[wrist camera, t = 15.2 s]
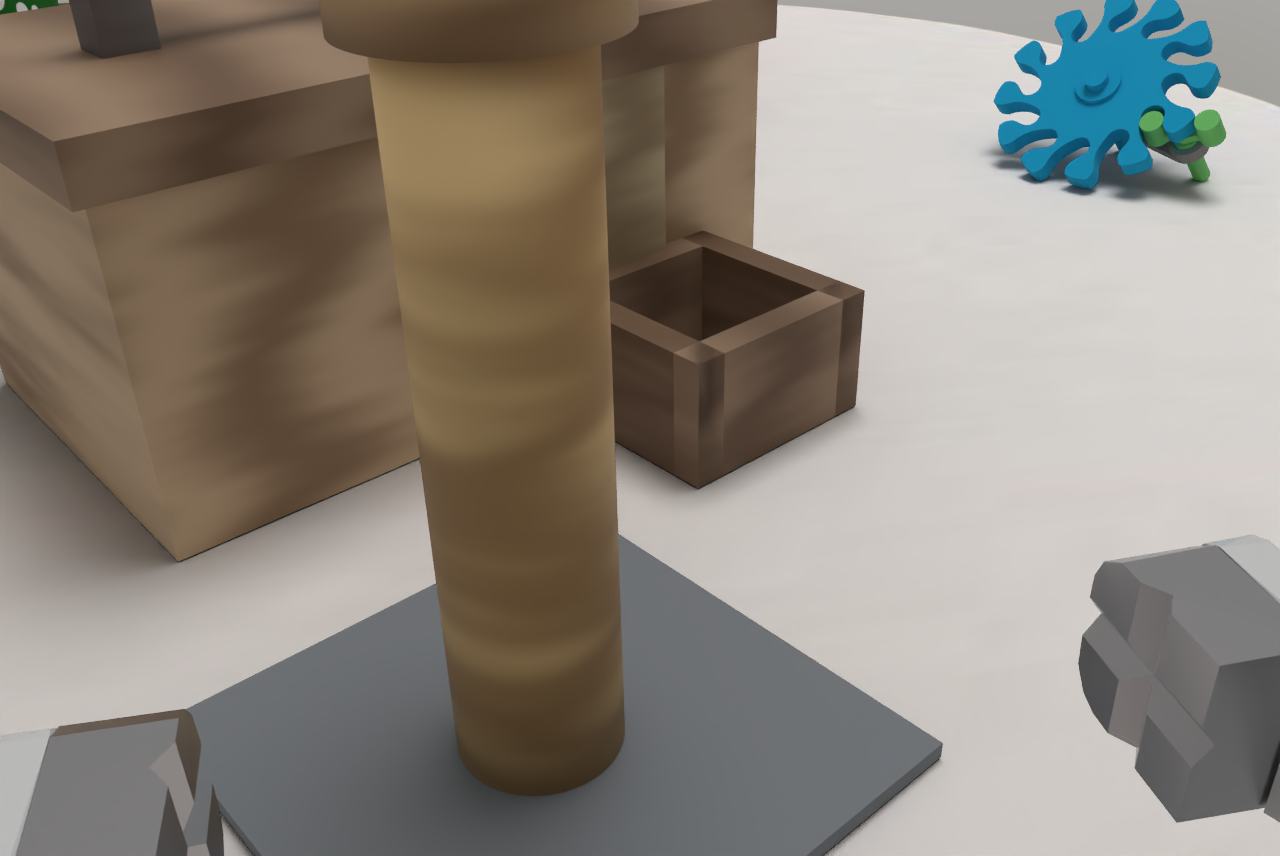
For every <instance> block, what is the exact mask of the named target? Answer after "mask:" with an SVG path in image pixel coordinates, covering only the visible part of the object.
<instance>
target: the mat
mask: <svg viewBox="0 0 1280 856" xmlns="http://www.w3.org/2000/svg"><path fill="white" fill-rule="evenodd" d="M618 546H619V574H620V602H621V630H622V659H623V687H624V715H625V736H624V742H623V745H622V747H621V750H620V752H619V754H618V755H617V757H616V759H615V760H614V761H613V763H612V764H611V765H610V766H609V767H608V768H607V769H606V770H605V771H604V772H603V773H602V774H600V775H599V776H598V777H596V778H595V779H593V780H591V781H590V782H588V783H586V784H584V785H582V786H580V787H578V788H575V789H572V790H569V791H566V792H563V793H558V794H554V795H546V796H522V795H515V794H509V793H506V792H502V791H499V790H496V789H494V788H492V787H490V786H488V785H486V784H484V783H483V782H481V781H479V780H478V779H477V778H476V777H475V776H473V775H472V774H471V773H470V771H469V770H468V769H467V768H466V766H465V765H464V763H463V762H462V759H461V757H460V755H459V751H458V746H457V738H456V730H455V723H454V715H453V707H452V700H451V692H450V685H449V677H448V669H447V662H446V654H445V646H444V639H443V631H442V624H441V616H440V608H439V601H438V593H437V585H436V584H434V585H432V586H430V587H428V588H426V589H424V590H422V591H420V592H418V593H416V594H414V595H412V596H410V597H408V598H406V599H404V600H402V601H400V602H398V603H396V604H394V605H392V606H390V607H388V608H386V609H384V610H382V611H380V612H378V613H376V614H374V615H372V616H370V617H368V618H366V619H364V620H362V621H360V622H358V623H356V624H354V625H352V626H350V627H348V628H346V629H344V630H343V631H341V632H339V633H337V634H335V635H333V636H331V637H329V638H327V639H325V640H323V641H321V642H319V643H317V644H315V645H313V646H311V647H309V648H307V649H305V650H303V651H301V652H299V653H297V654H295V655H293V656H291V657H289V658H287V659H285V660H283V661H281V662H279V663H277V664H275V665H273V666H271V667H269V668H267V669H265V670H263V671H261V672H259V673H257V674H255V675H253V676H251V677H249V678H247V679H245V680H243V681H241V682H239V683H237V684H235V685H233V686H231V687H229V688H227V689H225V690H223V691H221V692H219V693H217V694H215V695H214V696H212V697H210V698H208V699H206V700H204V701H202V702H200V703H198V704H196V705H194V706H192V707H190V708H188V709H186V710H187V711H188V712H189V713H191V714H192V716H193V719H194V722H195V726H196V729H197V732H198V735H199V738H200V741H201V744H202V745H201V753H200V761H199V769H198V774H199V775H200V776H202V777H203V778H205V779H206V780H208V781H209V782H211V783H212V784H213V786H214V790H215V794H216V798H217V801H218V805H219V810H220V812H221V813H222V814H223V816H224V817H225V818H226V819H227V821H228V822H229V823H230V825H231V826H232V827H233V829H234V830H235V831H236V832H237V834H238V835H239V836H240V838H241V839H242V840H243V841H244V843H245V844H246V845H247V847H248V848H249V849H250V850H251V852H252V853H253V854H254V856H822V855H824V854H825V853H826V852H827V851H828V850H830V849H831V848H832V847H833V846H834V845H836V844H837V843H838V842H839V841H840V840H842V839H843V838H844V837H845V836H846V835H848V834H849V833H850V832H851V831H852V830H854V829H855V828H856V827H857V826H858V825H860V824H861V823H862V822H863V821H864V820H866V819H867V818H868V817H869V816H870V815H872V814H873V813H874V812H875V811H876V810H878V809H879V808H880V807H881V806H882V805H884V804H885V803H886V802H887V801H888V800H890V799H891V798H892V797H893V796H894V795H896V794H897V793H898V792H899V791H900V790H902V789H903V788H904V787H905V786H906V785H908V784H909V783H910V782H911V781H912V780H914V779H915V778H916V777H917V776H918V775H920V774H921V773H922V772H923V771H925V770H926V769H927V768H928V767H929V766H931V765H932V764H933V763H934V762H935V761H937V760H938V759H939V758H940V757H941V752H942V745H943V743H942V742H940V741H939V740H937V739H935V738H934V737H932V736H931V735H929V734H928V733H926V732H925V731H923V730H921V729H920V728H918V727H917V726H915V725H914V724H912V723H911V722H909V721H908V720H906V719H904V718H903V717H901V716H900V715H898V714H897V713H895V712H894V711H892V710H890V709H889V708H887V707H886V706H884V705H883V704H881V703H880V702H878V701H877V700H875V699H873V698H872V697H870V696H869V695H867V694H866V693H864V692H863V691H861V690H859V689H858V688H856V687H855V686H853V685H852V684H850V683H849V682H847V681H846V680H844V679H842V678H841V677H839V676H838V675H836V674H835V673H833V672H832V671H830V670H828V669H827V668H825V667H824V666H822V665H821V664H819V663H818V662H816V661H815V660H813V659H811V658H810V657H808V656H807V655H805V654H804V653H802V652H801V651H799V650H797V649H796V648H794V647H793V646H791V645H790V644H788V643H787V642H785V641H784V640H782V639H780V638H779V637H777V636H776V635H774V634H773V633H771V632H770V631H768V630H766V629H765V628H763V627H762V626H760V625H759V624H757V623H756V622H754V621H753V620H751V619H749V618H748V617H746V616H745V615H743V614H742V613H740V612H739V611H737V610H735V609H734V608H732V607H731V606H729V605H728V604H726V603H725V602H723V601H722V600H720V599H718V598H717V597H715V596H714V595H712V594H711V593H709V592H708V591H706V590H704V589H703V588H701V587H700V586H698V585H697V584H695V583H694V582H692V581H691V580H689V579H687V578H686V577H684V576H683V575H681V574H680V573H678V572H677V571H675V570H673V569H672V568H670V567H669V566H667V565H666V564H664V563H663V562H661V561H659V560H658V559H656V558H655V557H653V556H652V555H650V554H649V553H647V552H646V551H644V550H642V549H641V548H639V547H638V546H636V545H635V544H633V543H632V542H630V541H628V540H627V539H625V538H624V537H622V536H621V535H619V534H618Z"/></svg>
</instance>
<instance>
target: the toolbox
mask: <svg viewBox="0 0 1280 856" xmlns="http://www.w3.org/2000/svg"><path fill="white" fill-rule="evenodd" d="M69 3H70V4H67V5H60V6H53V7H47V8H40V9H34V10H27V11H21V12H14V13H8V14H1V15H0V366H1V369H2V372H3V375H4V378H5V381H6V383H7V384H8V385H9V386H10V387H11V388H12V389H13V390H14V391H15V392H16V393H17V395H18V396H19V397H20V398H21V399H22V400H23V401H24V402H25V403H26V404H27V405H28V406H29V407H30V408H31V409H32V410H33V411H34V412H35V413H36V414H37V415H38V416H39V417H40V418H41V419H42V421H43V422H44V423H45V424H46V425H47V426H48V427H49V428H50V429H51V430H52V431H53V432H54V433H55V434H56V435H57V436H58V437H59V438H60V439H61V440H62V441H63V442H64V443H65V444H66V445H67V447H68V448H69V449H70V450H71V451H72V452H73V453H74V454H75V455H76V456H77V457H78V458H79V459H80V460H81V461H82V462H83V463H84V464H85V465H86V466H87V467H88V468H89V469H90V470H91V471H92V472H93V474H94V475H95V476H96V477H97V478H98V479H99V480H100V481H101V482H102V483H103V484H104V485H105V486H106V487H107V488H108V489H109V490H110V491H111V492H112V493H113V494H114V495H115V496H116V497H117V498H118V500H119V501H120V502H121V503H122V504H123V505H124V506H125V507H126V508H127V509H128V510H129V511H130V512H131V513H132V514H133V515H134V516H135V517H136V518H137V519H138V520H139V521H140V522H141V523H142V524H143V526H144V527H145V528H146V529H147V530H148V531H149V532H150V533H151V534H152V535H153V536H154V537H155V538H156V539H157V540H158V541H159V542H160V543H161V544H162V545H163V546H164V547H165V548H166V549H167V550H168V552H169V553H170V554H171V555H172V556H173V557H174V558H175V559H176V560H177V561H178V562H179V561H181V560H184V559H186V558H188V557H191V556H193V555H195V554H198V553H200V552H202V551H205V550H207V549H209V548H211V547H214V546H216V545H218V544H221V543H223V542H225V541H228V540H230V539H232V538H235V537H237V536H239V535H242V534H244V533H246V532H249V531H251V530H253V529H256V528H258V527H260V526H263V525H265V524H267V523H270V522H272V521H274V520H277V519H279V518H281V517H283V516H286V515H288V514H290V513H293V512H295V511H297V510H300V509H302V508H304V507H307V506H309V505H311V504H314V503H316V502H318V501H321V500H323V499H325V498H328V497H330V496H332V495H335V494H337V493H339V492H342V491H344V490H346V489H349V488H351V487H353V486H355V485H358V484H360V483H362V482H365V481H367V480H369V479H372V478H374V477H376V476H379V475H381V474H383V473H386V472H388V471H390V470H393V469H395V468H397V467H400V466H402V465H404V464H407V463H409V462H411V461H414V460H416V459H418V458H420V456H419V448H418V440H417V433H416V425H415V418H414V410H413V402H412V395H411V387H410V379H409V372H408V364H407V357H406V349H405V341H404V334H403V326H402V318H401V311H400V303H399V296H398V288H397V280H396V273H395V265H394V257H393V250H392V242H391V235H390V227H389V219H388V212H387V204H386V196H385V189H384V181H383V174H382V166H381V158H380V151H379V143H378V135H377V128H376V120H375V113H374V105H373V97H372V90H371V82H370V74H369V67H368V59H367V57H366V56H361V55H356V54H352V53H349V52H345V51H343V50H340V49H338V48H335V47H333V46H332V45H330V44H329V43H328V42H327V41H326V40H325V39H324V35H323V28H322V22H321V15H320V8H319V1H318V0H69ZM638 13H639V23H638V25H637V27H636V28H635V29H634V30H633V31H632V32H630V33H628V34H627V35H625V36H623V37H621V38H619V39H616V40H614V41H611V42H608V43H605V44H602V45H601V67H602V95H603V123H604V151H605V180H606V208H607V236H608V264H609V292H610V320H611V349H612V377H613V405H614V433H615V441H616V442H618V443H619V444H621V445H623V446H625V447H626V448H628V449H630V450H632V451H633V452H635V453H637V454H639V455H640V456H642V457H644V458H646V459H647V460H649V461H651V462H653V463H654V464H656V465H658V466H660V467H661V468H663V469H665V470H667V471H668V472H670V473H672V474H674V475H675V476H677V477H679V478H681V479H682V480H684V481H686V482H688V483H689V484H691V485H693V486H695V487H697V488H700V487H702V486H704V485H706V484H708V483H710V482H711V481H713V480H715V479H717V478H719V477H721V476H723V475H725V474H727V473H729V472H730V471H732V470H734V469H736V468H738V467H740V466H742V465H744V464H746V463H747V462H749V461H751V460H753V459H755V458H757V457H759V456H761V455H763V454H765V453H766V452H768V451H770V450H772V449H774V448H776V447H778V446H780V445H782V444H783V443H785V442H787V441H789V440H791V439H793V438H795V437H797V436H799V435H801V434H802V433H804V432H806V431H808V430H810V429H812V428H814V427H816V426H818V425H819V424H821V423H823V422H825V421H827V420H829V419H831V418H833V417H835V416H837V415H838V414H840V413H842V412H844V411H846V410H848V409H850V408H852V407H854V406H855V405H856V392H857V380H858V367H859V354H860V342H861V329H862V316H863V303H864V290H862V289H859V288H856V287H854V286H851V285H848V284H845V283H843V282H840V281H837V280H835V279H832V278H829V277H827V276H824V275H821V274H819V273H816V272H813V271H811V270H808V269H805V268H803V267H800V266H797V265H794V264H792V263H789V262H786V261H784V260H781V259H778V258H776V257H773V256H770V255H768V254H765V253H762V252H760V251H757V250H754V249H753V224H754V188H755V152H756V116H757V80H758V44H759V41H763V40H767V39H771V38H776V24H777V0H638Z"/></svg>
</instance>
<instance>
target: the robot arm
mask: <svg viewBox="0 0 1280 856" xmlns="http://www.w3.org/2000/svg"><path fill="white" fill-rule="evenodd" d="M1090 598H1091V599H1092V601H1093V602H1094V604H1095V605H1096V606H1097V608H1098V609H1099V611H1100V612H1101V614H1100V616H1099V617H1098V618H1097V619H1096V620H1095V621H1094V623H1093V624H1092V625H1091V626H1090V627H1089V628H1088V629H1087V631H1086V632H1085V633H1084V634H1083V636H1082V642H1081V649H1080V656H1079V663H1078V664H1079V670H1080V676H1081V681H1082V687H1083V692H1084V694H1085V696H1086V699H1087V701H1088V703H1089V705H1090V707H1091V710H1092V712H1093V714H1094V715H1095V716H1096V718H1097V719H1098V720H1099V722H1100V723H1101V724H1102V726H1103V727H1104V729H1105V730H1106V731H1107V733H1109V734H1111V735H1113V736H1115V737H1117V738H1119V739H1121V740H1123V741H1125V742H1126V743H1128V744H1130V745H1132V746H1134V747H1136V748H1137V749H1136V759H1135V769H1136V771H1137V772H1138V773H1139V774H1140V776H1141V777H1142V778H1143V780H1144V781H1145V782H1146V783H1147V785H1148V786H1149V787H1150V789H1151V790H1152V791H1153V793H1154V794H1155V795H1156V796H1157V798H1158V799H1159V800H1160V802H1161V803H1162V804H1163V805H1164V807H1165V808H1166V809H1167V811H1168V812H1169V813H1170V814H1171V816H1172V817H1173V818H1174V820H1175V821H1176V822H1177V823H1178V822H1184V821H1189V820H1195V819H1201V818H1207V817H1213V816H1219V815H1225V814H1230V813H1236V812H1242V811H1248V810H1254V809H1260V808H1265V810H1264V813H1265V814H1267V815H1269V816H1270V817H1272V818H1274V819H1275V820H1277V821H1278V822H1280V549H1278V548H1277V547H1276V546H1275V545H1274V544H1273V543H1271V542H1270V541H1268V540H1266V539H1263V538H1260V537H1258V536H1255V535H1249V536H1243V537H1238V538H1232V539H1227V540H1221V541H1216V542H1211V543H1205V544H1203V545H1201V546H1194V547H1188V548H1182V549H1176V550H1170V551H1164V552H1158V553H1152V554H1146V555H1141V556H1135V557H1129V558H1123V559H1117V560H1111V561H1105V562H1104V563H1103V564H1102V565H1101V567H1100V568H1099V570H1098V571H1097V573H1096V574H1095V577H1094V581H1093V586H1092V591H1091V595H1090ZM201 745H202V744H201V741H200V738H199V735H198V732H197V729H196V726H195V722H194V719H193V716H192V714H191V713H189V712H188V711H187V710H185V709H181V710H174V711H167V712H160V713H152V714H145V715H138V716H131V717H124V718H116V719H109V720H102V721H95V722H87V723H80V724H73V725H66V726H59V727H58V729H44V730H37V731H30V732H23V733H16V734H9V735H2V736H0V856H224V845H223V829H222V823H221V817H220V811H219V805H218V801H217V798H216V794H215V790H214V786H213V784H212V783H211V782H209V781H208V780H206V779H205V778H203V777H202V776H200V775H199V774H198V769H199V761H200V753H201Z"/></svg>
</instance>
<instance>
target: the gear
mask: <svg viewBox="0 0 1280 856" xmlns="http://www.w3.org/2000/svg"><path fill="white" fill-rule="evenodd" d="M1104 6H1105V7H1104V8H1105V11H1104V16H1103V19H1102V21H1101V23H1100V25H1099V26H1098V28H1097V29H1096V30H1095V32H1094V33H1093V34H1092V35H1091V36H1090V37H1089V38H1088V39H1087V40H1085V41H1083V42H1078V40H1079V39H1080V38H1081V37H1082V35H1083V34H1084V33H1085V31H1086V30H1087V22H1086V20H1085V18H1084V16H1083V14H1082V12H1081V10H1074V11H1070V12H1067V13H1064V14H1062V15H1060V16H1057V18H1056V20H1055V26H1056V28H1057V30H1058V32H1059V34H1060V36H1061V38H1062V39H1063V45H1062V50H1061V54H1060V57H1059V59H1058V60H1057V61H1056V62H1054V63H1053V64H1050V65H1045V64H1046V55H1045V53H1044V51H1043V49H1042V47H1041V45H1040V43H1039V42H1037V41H1032V42H1030V43H1028V44H1027V45H1025V46H1024V47H1023V48H1022V49H1021V50H1019V51H1018V52H1017V53H1016V54H1015V55H1014V56H1015V60H1016V62H1017V64H1018V65H1019V67H1020V69H1021V70H1022V71H1023V72H1024V73H1028V74H1032V75H1035V76H1036V77H1038V78H1039V79H1040V80H1041V82H1042V83H1041V87H1040V89H1039V90H1038V91H1037V92H1036V93H1034V94H1032V95H1024V94H1023V93H1022V92H1021V90H1020V88H1019V86H1018V85H1017V84H1016V83H1015V82H1011V81H1008V82H1005V83H1004V84H1003V85H1002V86H1001V87H1000V89H999V90H998V92H997V94H996V97H995V99H994V103H995V104H996V106H997V108H998V109H999V111H1000V112H1001V113H1003V114H1011V113H1015V112H1032V113H1034V114H1037V115H1039V116H1040V117H1039V119H1038V120H1037V121H1036V122H1035V123H1033V124H1031V125H1022V124H1020V123H1018V122H1016V121H1006V122H1004V123H1002V124H1000V126H999V130H998V138H999V143H1000V145H1001V147H1002V148H1003V150H1004V152H1005V153H1008V154H1009V153H1015V152H1017V151H1019V150H1020V149H1021V148H1023V147H1024V146H1026V145H1028V144H1030V143H1032V142H1034V141H1038V140H1042V139H1052V138H1057V140H1056V142H1055V143H1054V144H1053V145H1051V146H1050V147H1047V148H1036V149H1032V150H1029V151H1028V152H1026V153H1025V154H1024V155H1023V156H1022V158H1021V160H1022V163H1023V164H1024V166H1025V168H1026V169H1027V171H1028V172H1029V174H1030V175H1031V176H1032V177H1033V178H1034V179H1035V180H1037V181H1042V180H1044V179H1046V178H1047V177H1048V176H1049V175H1050V174H1051V172H1052V171H1053V169H1054V168H1055V166H1056V165H1057V164H1058V163H1059V162H1060V161H1061V160H1062V159H1063V158H1065V157H1066V156H1067V155H1069V154H1071V153H1072V152H1074V151H1076V150H1078V149H1080V148H1083V147H1090V148H1089V150H1088V151H1087V152H1086V153H1085V154H1084V155H1082V156H1080V157H1078V158H1076V159H1074V160H1072V161H1071V162H1070V163H1069V164H1068V165H1067V166H1066V168H1065V173H1064V174H1065V176H1066V177H1067V179H1068V181H1069V183H1070V184H1072V185H1074V186H1077V187H1081V188H1090V189H1091V188H1092V187H1094V186H1095V184H1096V183H1097V181H1098V179H1099V167H1100V164H1101V161H1102V159H1103V157H1104V156H1105V154H1106V153H1107V152H1108V150H1109V149H1110V148H1111V147H1112V146H1113V145H1114V144H1116V146H1117V148H1118V150H1119V154H1118V157H1117V160H1118V163H1119V165H1120V167H1121V169H1122V171H1123V173H1124V174H1125V175H1132V174H1137V173H1141V172H1144V171H1147V170H1149V169H1151V167H1152V164H1153V159H1152V157H1151V155H1150V153H1149V151H1148V149H1147V147H1148V148H1150V149H1152V150H1154V151H1156V152H1158V153H1160V154H1162V155H1164V156H1166V157H1168V158H1170V159H1172V160H1174V161H1177V162H1179V163H1183V164H1187V165H1188V167H1189V170H1190V172H1191V174H1192V177H1193V179H1194V180H1196V181H1201V182H1203V181H1205V180H1207V179H1208V178H1209V176H1210V171H1209V169H1208V166H1207V164H1206V161H1205V159H1204V157H1203V156H1204V155H1205V154H1206V153H1207V151H1208V149H1209V147H1214V146H1217V145H1219V144H1221V143H1222V142H1223V141H1224V139H1225V137H1226V131H1225V128H1224V126H1223V123H1222V120H1221V118H1220V115H1219V113H1218V112H1217V111H1215V110H1205V111H1203V112H1201V113H1199V114H1198V115H1197V116H1196V117H1195V114H1194V113H1193V111H1192V110H1191V109H1188V108H1184V107H1180V106H1177V105H1175V104H1173V103H1172V102H1170V101H1169V100H1168V99H1167V97H1166V96H1165V94H1166V92H1167V90H1168V89H1169V88H1170V87H1171V86H1173V85H1175V84H1180V83H1182V84H1186V85H1187V86H1188V87H1189V89H1190V90H1191V92H1192V94H1193V95H1194V96H1195V97H1197V98H1209V97H1210V96H1211V95H1212V93H1213V92H1214V91H1215V89H1216V87H1217V85H1218V82H1219V80H1220V77H1221V76H1220V73H1219V70H1218V67H1217V66H1216V65H1215V64H1213V63H1210V62H1205V63H1200V64H1197V65H1188V66H1187V65H1186V66H1183V65H1177V64H1173V63H1171V62H1168V61H1167V59H1168V58H1169V57H1170V56H1171V55H1173V54H1175V53H1178V52H1183V53H1186V54H1189V55H1192V56H1196V57H1199V56H1203V55H1206V54H1208V53H1210V52H1211V50H1212V38H1211V34H1210V31H1209V28H1208V26H1207V23H1206V21H1197V22H1194V23H1192V24H1190V25H1189V26H1188V27H1186V28H1185V29H1183V30H1182V31H1180V32H1178V33H1176V34H1173V35H1171V36H1167V37H1163V38H1156V39H1147V38H1148V37H1149V36H1150V35H1151V34H1152V33H1154V32H1157V31H1163V30H1170V29H1173V28H1175V27H1177V26H1179V25H1180V24H1181V23H1182V22H1183V20H1184V17H1183V15H1182V12H1181V9H1180V7H1179V4H1178V3H1177V2H1176V1H1175V0H1157V1H1156V2H1155V3H1154V4H1153V6H1152V8H1151V9H1150V11H1149V12H1148V13H1147V14H1146V15H1145V16H1144V17H1143V18H1142V19H1141V20H1140V21H1139V22H1137V23H1136V24H1134V25H1133V26H1131V27H1129V28H1127V29H1125V30H1123V31H1121V32H1117V33H1114V32H1115V30H1116V29H1117V28H1119V27H1120V26H1122V25H1124V24H1126V23H1128V22H1129V21H1131V20H1132V19H1133V18H1134V17H1135V16H1136V14H1137V11H1138V8H1137V5H1136V3H1135V1H1134V0H1106V2H1105V5H1104Z"/></svg>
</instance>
